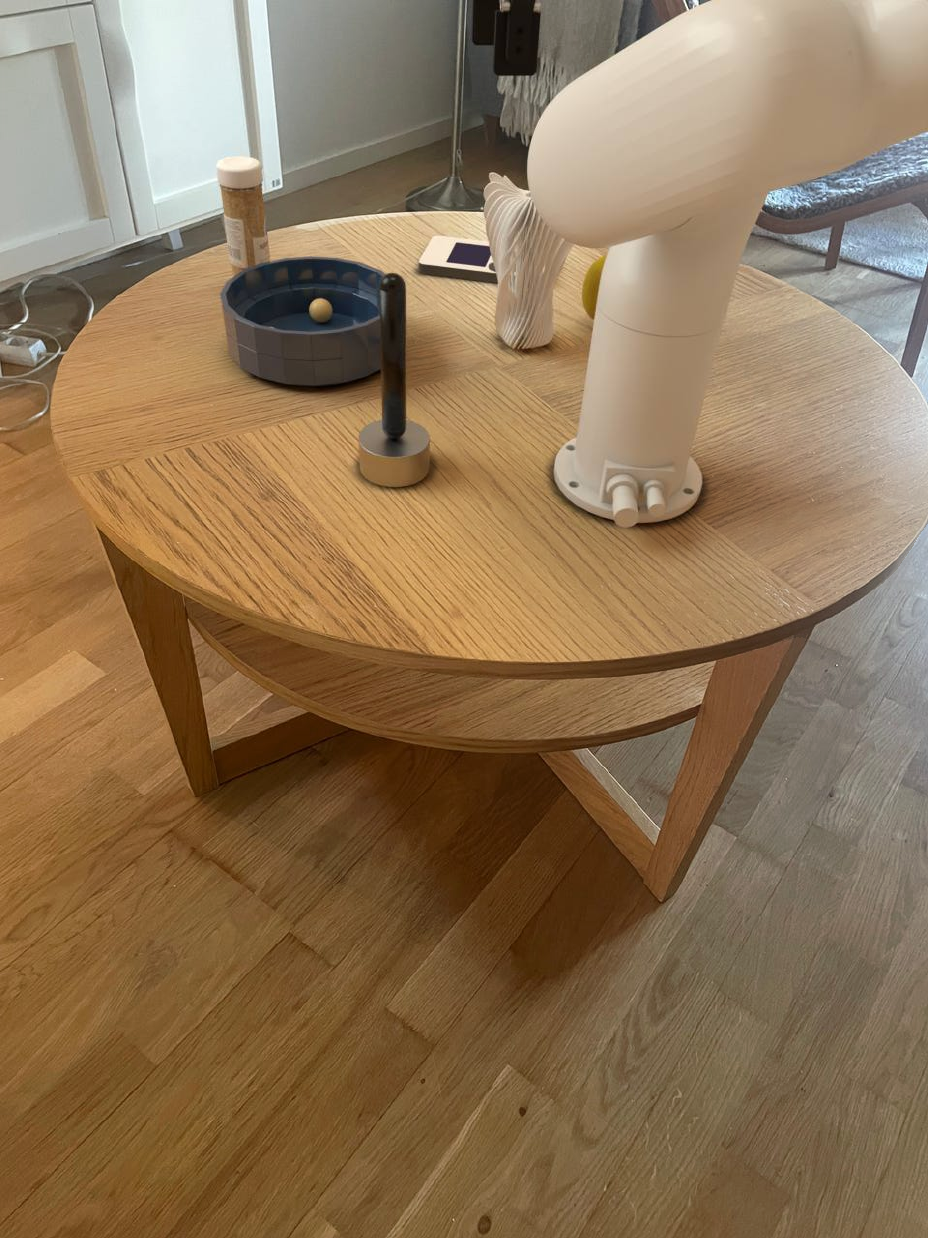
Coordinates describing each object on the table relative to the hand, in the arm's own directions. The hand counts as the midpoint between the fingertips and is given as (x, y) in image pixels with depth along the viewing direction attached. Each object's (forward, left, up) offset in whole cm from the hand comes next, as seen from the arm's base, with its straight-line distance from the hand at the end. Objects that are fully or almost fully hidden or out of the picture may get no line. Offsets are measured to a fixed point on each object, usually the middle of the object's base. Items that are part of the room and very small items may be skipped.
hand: (502, 58), depth 71 cm
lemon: (+13, -13, -28) cm, 34 cm away
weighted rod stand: (-16, +7, -28) cm, 33 cm away
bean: (+9, +17, -26) cm, 32 cm away
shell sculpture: (+8, -4, -28) cm, 29 cm away
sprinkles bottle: (+17, +26, -28) cm, 42 cm away
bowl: (+4, +17, -28) cm, 33 cm away
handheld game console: (+27, 0, -28) cm, 39 cm away
